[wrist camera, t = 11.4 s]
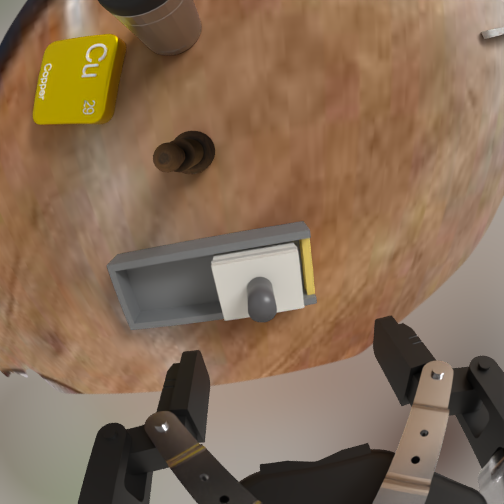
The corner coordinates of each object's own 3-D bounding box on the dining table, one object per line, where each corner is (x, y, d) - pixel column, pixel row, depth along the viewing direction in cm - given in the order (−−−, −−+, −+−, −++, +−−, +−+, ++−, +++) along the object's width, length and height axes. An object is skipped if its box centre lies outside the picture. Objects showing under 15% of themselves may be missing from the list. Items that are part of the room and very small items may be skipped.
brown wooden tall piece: (184, 180, 45) (152, 203, 28) (165, 145, 43) (121, 148, 26) (222, 159, 44) (210, 170, 28) (202, 123, 42) (178, 111, 25)
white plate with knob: (214, 248, 48) (205, 285, 36) (290, 235, 48) (307, 268, 35) (226, 298, 51) (222, 345, 39) (297, 286, 51) (313, 331, 39)
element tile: (58, 47, 35) (44, 42, 31) (129, 39, 37) (119, 31, 32) (43, 125, 40) (28, 125, 36) (113, 124, 42) (101, 123, 37)
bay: (117, 254, 49) (106, 265, 44) (303, 221, 48) (309, 230, 44) (138, 315, 53) (130, 330, 49) (310, 289, 53) (316, 303, 48)
